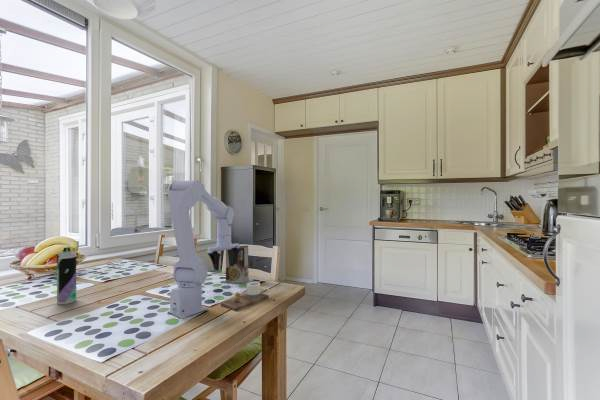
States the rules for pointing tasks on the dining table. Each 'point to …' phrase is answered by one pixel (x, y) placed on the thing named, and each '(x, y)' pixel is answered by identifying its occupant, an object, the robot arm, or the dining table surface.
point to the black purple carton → (66, 277)
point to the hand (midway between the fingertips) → (224, 267)
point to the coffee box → (238, 267)
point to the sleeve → (253, 290)
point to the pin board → (242, 301)
